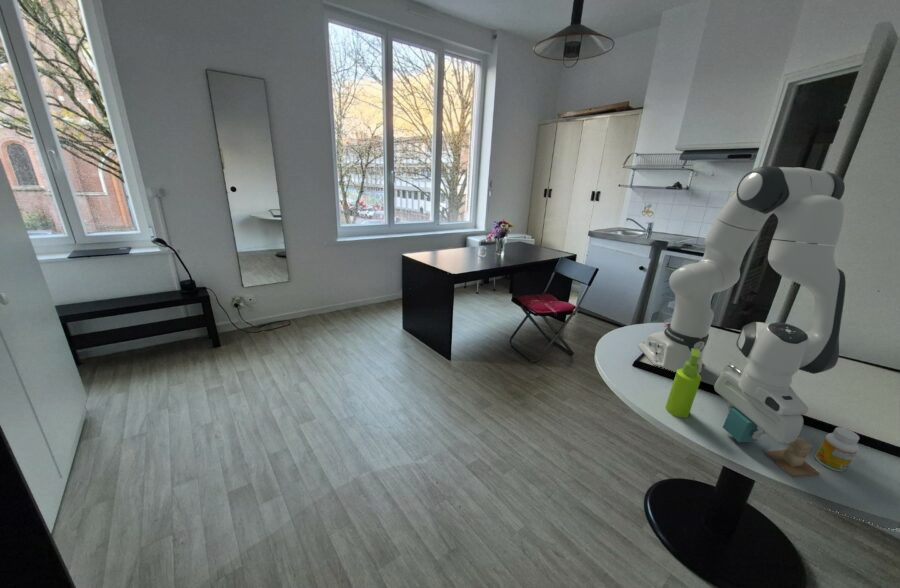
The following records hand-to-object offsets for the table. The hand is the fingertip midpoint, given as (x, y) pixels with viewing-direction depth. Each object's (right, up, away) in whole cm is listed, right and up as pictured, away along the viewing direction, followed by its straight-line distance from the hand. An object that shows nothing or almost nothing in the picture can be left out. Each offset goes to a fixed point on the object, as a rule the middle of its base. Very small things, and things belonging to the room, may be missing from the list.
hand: (742, 427), depth 90 cm
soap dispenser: (-10, +1, +12) cm, 15 cm away
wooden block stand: (+7, -7, -6) cm, 11 cm away
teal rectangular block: (0, -2, +1) cm, 2 cm away
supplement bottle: (+17, -7, -6) cm, 19 cm away
